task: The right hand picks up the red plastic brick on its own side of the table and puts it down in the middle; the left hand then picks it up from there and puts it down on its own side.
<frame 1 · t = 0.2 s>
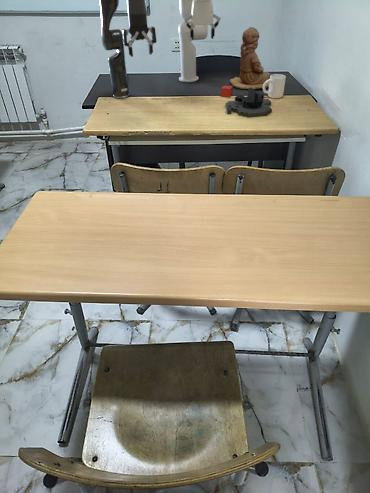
left hand: (141, 55, 157), 29 cm above the table, tool pointing down, fingers open, 8 cm apart
right hand: (202, 38, 174), 31 cm above the table, tool pointing down, fingers open, 9 cm apart
mug: (272, 96, 199), on the table
sculpture: (250, 84, 218), on the table
brick: (226, 95, 202), on the table
abstract sculpture: (249, 109, 184), on the table
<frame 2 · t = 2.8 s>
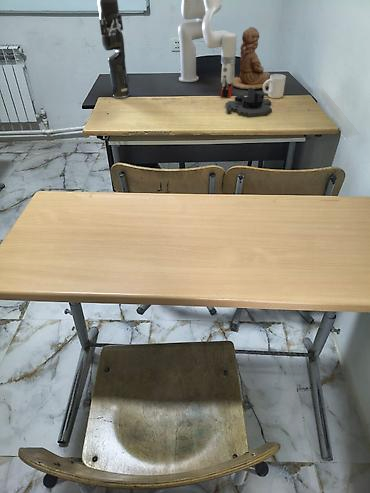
left hand: (114, 44, 160), 33 cm above the table, tool pointing down, fingers open, 8 cm apart
right hand: (226, 94, 202), 0 cm above the table, tool pointing down, fingers closed on brick, 5 cm apart
brick: (226, 95, 202), on the table, touching right hand
everything else where it was.
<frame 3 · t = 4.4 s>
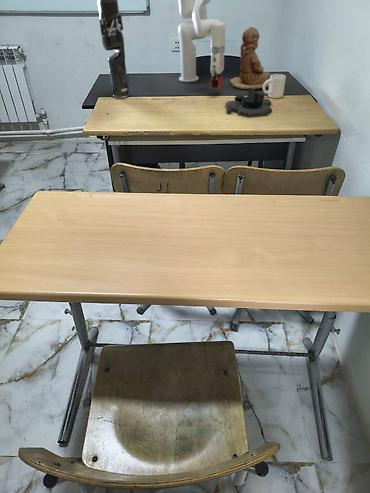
left hand: (114, 44, 160), 33 cm above the table, tool pointing down, fingers open, 8 cm apart
right hand: (216, 85, 200), 5 cm above the table, tool pointing down, fingers closed on brick, 5 cm apart
brick: (216, 86, 200), point 5 cm above the table, touching right hand
everything else where it was.
when the right hand's fingers open (1 cm above the table, at t = 6.4 s): brick stays where it is, on the table.
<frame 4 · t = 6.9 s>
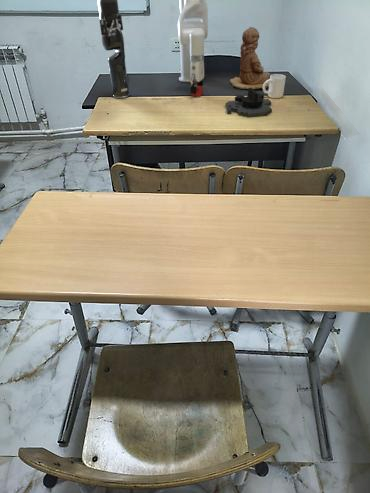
left hand: (114, 44, 160), 33 cm above the table, tool pointing down, fingers open, 8 cm apart
right hand: (197, 90, 203), 2 cm above the table, tool pointing down, fingers open, 9 cm apart
brick: (197, 95, 204), on the table
everything else where it was.
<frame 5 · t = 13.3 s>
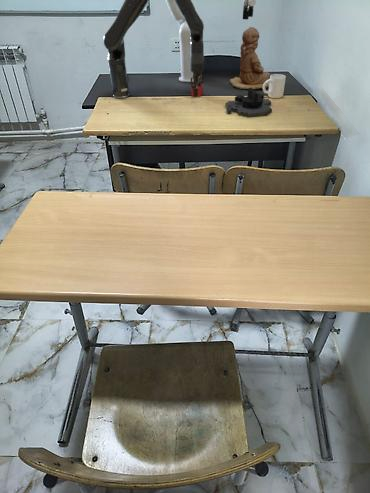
left hand: (197, 93, 204), 1 cm above the table, tool pointing down, fingers closed on brick, 5 cm apart
right hand: (247, 17, 204), 33 cm above the table, tool pointing down, fingers open, 9 cm apart
brick: (197, 95, 204), on the table, touching left hand
everything else where it was.
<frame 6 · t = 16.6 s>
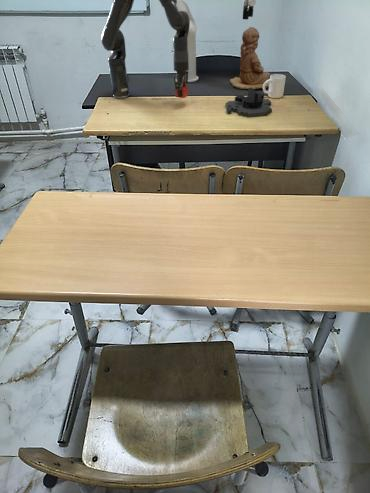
left hand: (181, 95, 187), 6 cm above the table, tool pointing down, fingers closed on brick, 5 cm apart
right hand: (247, 17, 204), 33 cm above the table, tool pointing down, fingers open, 9 cm apart
brick: (181, 96, 187), point 5 cm above the table, touching left hand
everything else where it was.
when the left hand's fingers open (1 cm above the table, at t = 19.7 s): brick stays where it is, on the table.
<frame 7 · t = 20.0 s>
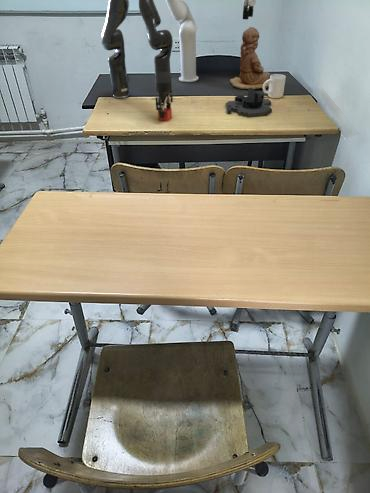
left hand: (165, 115, 176), 2 cm above the table, tool pointing down, fingers open, 7 cm apart
right hand: (247, 17, 204), 33 cm above the table, tool pointing down, fingers open, 9 cm apart
brick: (165, 118, 178), on the table
everything else where it was.
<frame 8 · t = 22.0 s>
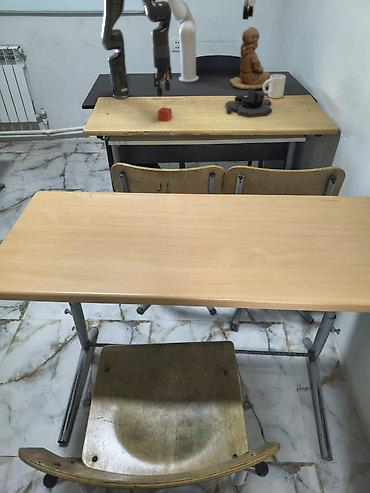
left hand: (164, 93, 170), 12 cm above the table, tool pointing down, fingers open, 8 cm apart
right hand: (247, 17, 204), 33 cm above the table, tool pointing down, fingers open, 9 cm apart
nothing on the table moved.
at the end: brick inside the target area (0.1 cm from its centre), on the table; brick tilted 0°; the two hands never held the brick at the same time; the left hand is holding nothing; the right hand is holding nothing; brick at rest at the end (0.0 cm/s) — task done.
